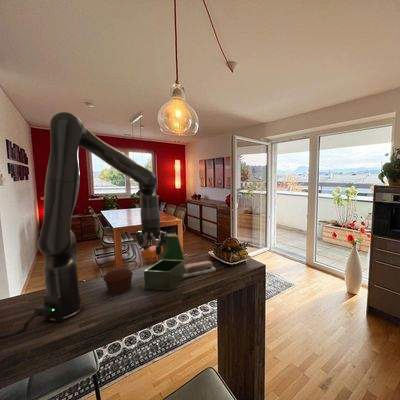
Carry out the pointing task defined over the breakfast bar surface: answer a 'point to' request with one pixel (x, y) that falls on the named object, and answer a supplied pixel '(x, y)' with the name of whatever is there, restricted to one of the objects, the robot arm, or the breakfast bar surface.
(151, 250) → the block
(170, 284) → the green box
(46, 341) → the breakfast bar surface
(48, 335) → the breakfast bar surface
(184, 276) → the packaged product
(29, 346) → the breakfast bar surface
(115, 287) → the muffin
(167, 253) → the lid
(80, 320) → the breakfast bar surface
